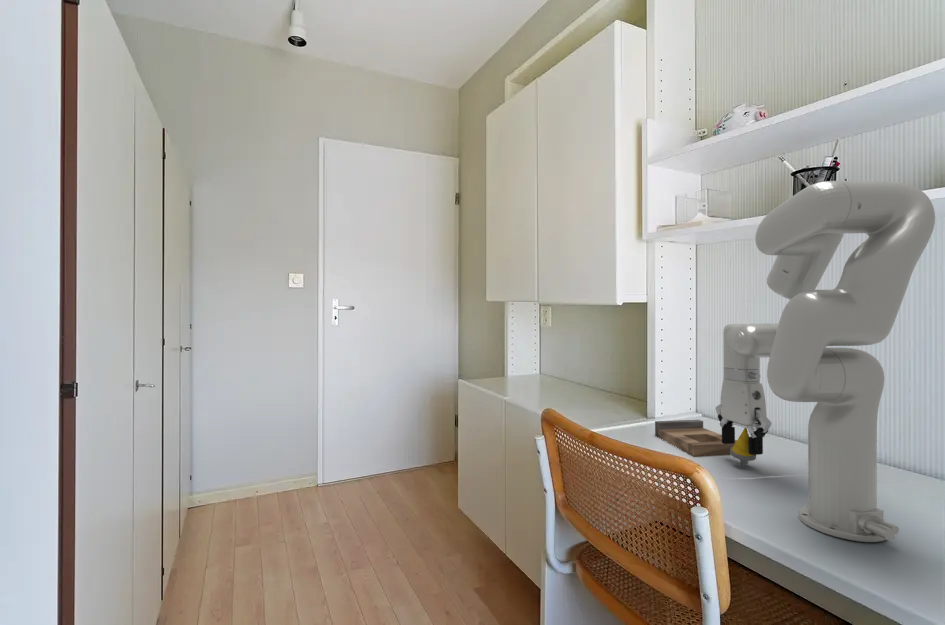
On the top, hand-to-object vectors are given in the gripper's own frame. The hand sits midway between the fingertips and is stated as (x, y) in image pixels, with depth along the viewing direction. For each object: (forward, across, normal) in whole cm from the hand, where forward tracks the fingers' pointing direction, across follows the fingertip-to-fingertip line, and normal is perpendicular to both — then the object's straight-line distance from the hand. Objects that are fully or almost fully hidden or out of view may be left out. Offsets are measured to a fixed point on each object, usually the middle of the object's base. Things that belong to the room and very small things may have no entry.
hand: (741, 448), depth 110 cm
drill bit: (+4, 0, 0) cm, 4 cm away
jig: (+4, +17, 0) cm, 17 cm away
